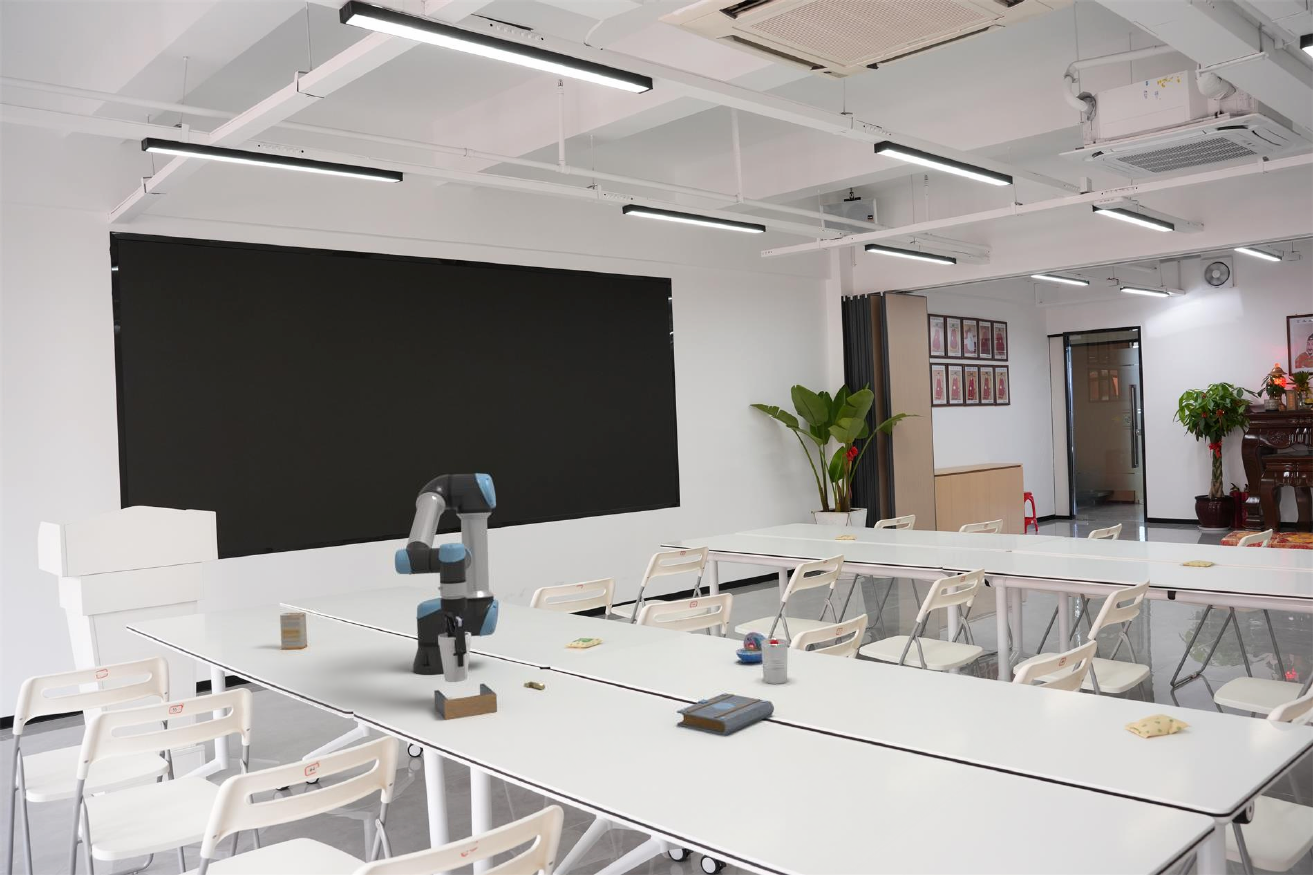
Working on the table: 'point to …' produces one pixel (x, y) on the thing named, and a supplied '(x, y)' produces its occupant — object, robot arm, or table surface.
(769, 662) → the ribbed metal can
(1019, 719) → the table surface
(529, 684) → the brass key
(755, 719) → the book
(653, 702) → the table surface
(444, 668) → the foam cup
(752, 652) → the cell model
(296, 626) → the supplement box
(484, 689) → the channel
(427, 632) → the robot arm
